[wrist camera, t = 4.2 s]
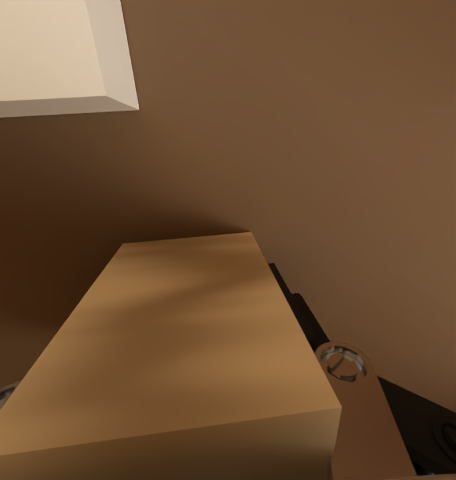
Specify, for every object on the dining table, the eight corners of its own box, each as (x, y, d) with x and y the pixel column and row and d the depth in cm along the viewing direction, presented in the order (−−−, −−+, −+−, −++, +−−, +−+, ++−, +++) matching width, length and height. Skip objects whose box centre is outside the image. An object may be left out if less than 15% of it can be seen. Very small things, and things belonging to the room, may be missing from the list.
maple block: (251, 231, 10) (342, 406, 4) (253, 330, 12) (314, 559, 5) (122, 243, 10) (-38, 461, 3) (146, 342, 12) (77, 601, 5)
